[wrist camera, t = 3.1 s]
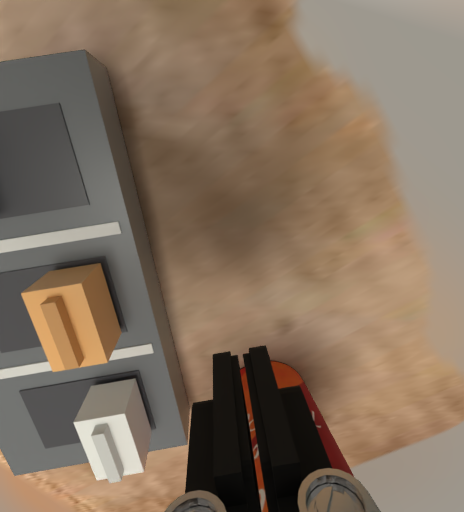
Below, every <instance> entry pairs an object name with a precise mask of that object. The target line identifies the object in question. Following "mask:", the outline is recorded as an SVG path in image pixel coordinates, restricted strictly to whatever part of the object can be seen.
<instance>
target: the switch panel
mask: <svg viewBox="0 0 464 512" xmlns="http://www.w3.org/2000/svg"><path fill="white" fill-rule="evenodd" d="M97 263H101V267H102V270H103V273H104V276H105V280H106V283H107V286H108V290H109V293H110V296H111V300H112V303H113V306H114V309H115V313H116V316H117V319H118V323H119V326H120V329H121V332H122V333H121V335H120V337H119V339H118V342H117V344H116V346H115V348H114V350H113V352H112V355H111V357H110V359H109V361H108V363H104V364H98V365H92V366H86V367H80V368H75V369H69V370H63V371H57V372H53V371H52V369H51V366H50V364H49V362H48V359H47V357H46V354H45V352H44V349H43V347H42V344H41V342H40V339H39V337H38V334H37V332H36V330H35V327H34V325H33V322H32V320H31V317H30V315H29V312H28V310H27V307H26V305H25V303H24V300H23V298H22V295H21V293H22V292H23V291H24V290H26V289H27V288H28V287H30V286H31V285H32V284H34V283H35V282H36V281H37V280H39V279H40V278H41V277H43V276H44V275H45V274H46V273H48V272H49V271H54V270H60V269H66V268H72V267H79V266H85V265H91V264H97ZM135 378H136V382H137V385H138V388H139V392H140V395H141V398H142V401H143V405H144V408H145V411H146V415H147V418H148V421H149V424H150V428H151V431H152V433H151V439H150V444H149V449H148V452H149V451H155V450H161V449H166V448H172V447H177V446H183V445H187V442H188V426H189V411H190V408H189V404H188V399H187V395H186V391H185V387H184V383H183V379H182V375H181V371H180V367H179V363H178V359H177V354H176V350H175V346H174V342H173V338H172V334H171V330H170V326H169V322H168V318H167V313H166V309H165V305H164V301H163V297H162V293H161V289H160V285H159V281H158V277H157V273H156V268H155V264H154V260H153V256H152V252H151V248H150V244H149V240H148V236H147V232H146V228H145V223H144V219H143V215H142V211H141V207H140V203H139V199H138V195H137V191H136V187H135V182H134V178H133V174H132V170H131V166H130V162H129V158H128V154H127V150H126V146H125V142H124V137H123V133H122V129H121V125H120V121H119V117H118V113H117V109H116V105H115V101H114V97H113V92H112V88H111V84H110V80H109V76H108V72H107V68H106V67H105V66H104V65H103V64H102V63H100V62H99V61H98V60H97V59H96V58H94V57H93V56H92V55H91V54H89V53H88V52H87V51H86V50H78V51H71V52H64V53H57V54H51V55H44V56H37V57H30V58H23V59H17V60H10V61H3V62H0V449H1V451H2V453H3V455H4V457H5V459H6V460H7V462H8V464H9V466H10V468H11V470H12V472H13V474H14V476H16V475H21V474H27V473H32V472H38V471H44V470H49V469H55V468H60V467H66V466H71V465H77V464H83V463H88V462H89V460H88V457H87V455H86V452H85V450H84V448H83V445H82V443H81V440H80V438H79V435H78V433H77V430H76V428H75V425H74V423H73V422H74V420H75V418H76V416H77V414H78V412H79V410H80V408H81V406H82V404H83V402H84V400H85V398H86V396H87V394H88V391H89V389H90V387H91V386H95V385H100V384H106V383H112V382H118V381H123V380H129V379H135Z"/></svg>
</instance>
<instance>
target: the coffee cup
mask: <svg viewBox="0 0 464 512" xmlns="http://www.w3.org/2000/svg"><path fill="white" fill-rule="evenodd" d="M270 362H271V365H272V368H273V372H274V375H275V379H276V382H277V386H278V389H279V388H285V387H291V386H297V385H299V386H300V387H301V389H302V392H303V394H304V397H305V399H306V402H307V404H308V407H309V409H310V412H311V415H312V417H313V420H314V422H315V425H316V427H317V430H318V432H319V435H320V438H321V440H322V443H323V445H324V448H325V450H326V453H327V455H328V458H329V461H330V463H331V466H332V468H333V469H339V470H341V471H344V472H346V473H349V474H351V475H352V476H353V474H352V472H351V470H350V468H349V466H348V464H347V462H346V460H345V458H344V457H343V455H342V453H341V451H340V449H339V447H338V445H337V443H336V442H335V440H334V438H333V436H332V434H331V432H330V430H329V428H328V426H327V425H326V423H325V421H324V419H323V417H322V415H321V413H320V411H319V409H318V407H317V405H316V403H315V401H314V400H313V398H312V396H311V394H310V392H309V390H308V388H307V387H306V385H305V383H304V381H303V380H302V378H301V377H300V375H299V374H298V373H297V372H296V371H295V370H294V369H293V368H292V367H290V366H288V365H286V364H284V363H281V362H276V361H270ZM240 373H241V379H242V385H243V391H244V397H245V403H246V408H247V414H248V420H249V427H250V433H251V440H252V447H253V454H254V461H255V468H256V475H257V482H258V490H259V497H260V504H261V511H262V512H268V507H267V501H266V495H265V489H264V482H263V476H262V470H261V464H260V458H259V451H258V445H257V439H256V433H255V426H254V420H253V414H252V408H251V401H250V395H249V389H248V383H247V376H246V370H245V367H244V368H242V369H241V370H240ZM353 477H354V476H353Z"/></svg>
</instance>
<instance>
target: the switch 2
mask: <svg viewBox="0 0 464 512" xmlns="http://www.w3.org/2000/svg"><path fill="white" fill-rule="evenodd" d="M73 423H74V425H75V428H76V430H77V433H78V435H79V438H80V440H81V443H82V445H83V448H84V450H85V452H86V455H87V457H88V460H89V462H90V465H91V467H92V470H93V472H94V475H95V477H96V480H102V479H108V481H109V483H114V482H119V481H121V480H122V476H124V475H130V474H135V473H141V472H144V470H145V464H146V459H147V454H148V449H149V444H150V439H151V433H152V431H151V428H150V424H149V421H148V418H147V415H146V411H145V408H144V405H143V401H142V398H141V395H140V392H139V388H138V385H137V382H136V378H135V379H129V380H123V381H118V382H112V383H106V384H100V385H95V386H91V387H90V389H89V391H88V394H87V396H86V398H85V400H84V402H83V404H82V406H81V408H80V410H79V412H78V414H77V416H76V418H75V420H74V422H73Z"/></svg>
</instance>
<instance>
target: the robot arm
mask: <svg viewBox="0 0 464 512" xmlns="http://www.w3.org/2000/svg"><path fill="white" fill-rule="evenodd" d="M243 358H244V364H245V370H246V376H247V383H248V389H249V395H250V401H251V408H252V414H253V420H254V426H255V433H256V439H257V445H258V451H259V458H260V464H261V470H262V476H263V482H264V489H265V495H266V501H267V507H268V512H381V511H380V510H379V508H378V507H377V505H376V503H375V502H374V500H373V499H372V497H371V496H370V494H369V492H368V491H367V490H366V488H365V487H364V486H363V485H362V484H361V482H360V481H359V480H357V479H356V478H355V477H353V476H352V475H351V474H349V473H346V472H344V471H341V470H339V469H333V468H332V466H331V463H330V461H329V458H328V455H327V453H326V450H325V448H324V445H323V443H322V440H321V438H320V435H319V432H318V430H317V427H316V425H315V422H314V420H313V417H312V415H311V412H310V409H309V407H308V404H307V402H306V399H305V397H304V394H303V392H302V389H301V387H300V386H299V385H297V386H291V387H285V388H279V389H278V386H277V382H276V379H275V375H274V372H273V368H272V365H271V362H270V358H269V355H268V351H267V348H266V345H265V346H259V347H253V348H249V353H246V354H243ZM165 512H262V511H261V504H260V497H259V490H258V482H257V475H256V468H255V461H254V454H253V447H252V440H251V433H250V427H249V420H248V414H247V408H246V403H245V397H244V391H243V385H242V379H241V373H240V367H239V361H238V355H234V356H231V353H230V351H229V352H223V353H217V354H213V400H208V401H202V402H196V403H193V405H192V414H191V427H190V439H189V452H188V464H187V477H186V490H185V494H184V495H182V496H180V497H178V498H177V499H176V500H175V501H173V502H172V503H171V504H170V505H169V506H168V508H167V509H166V510H165Z"/></svg>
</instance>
